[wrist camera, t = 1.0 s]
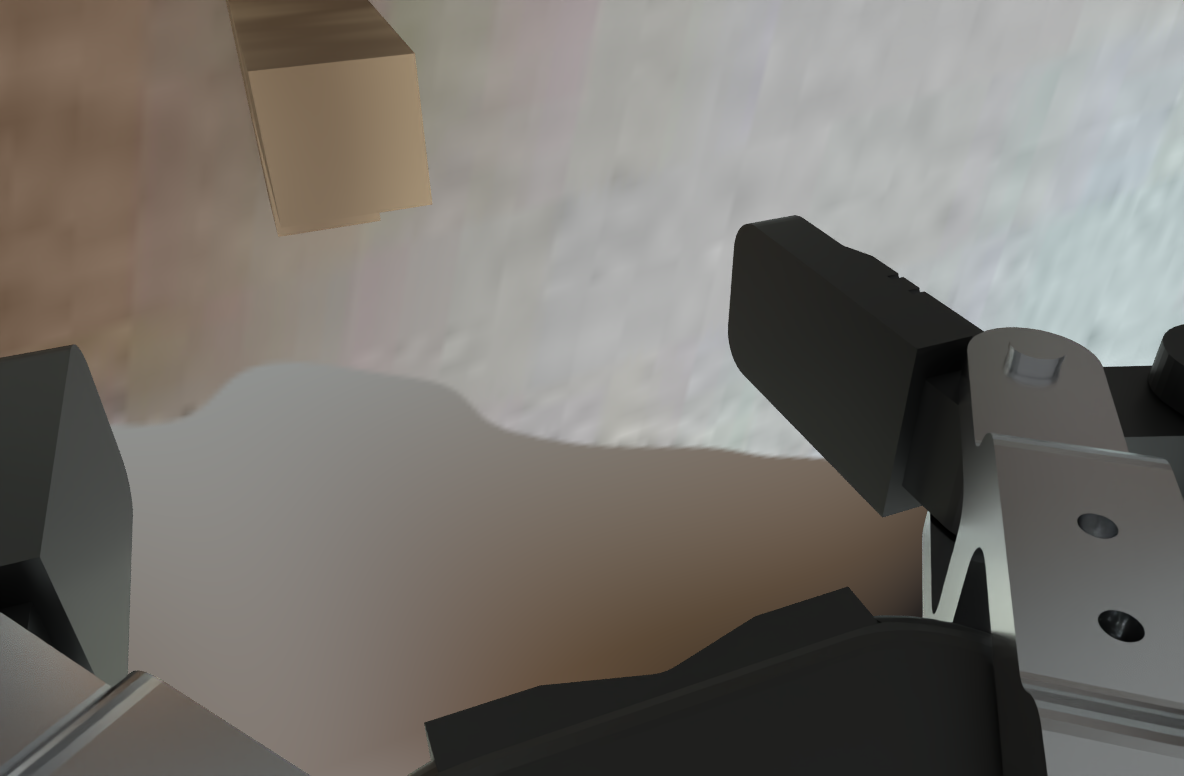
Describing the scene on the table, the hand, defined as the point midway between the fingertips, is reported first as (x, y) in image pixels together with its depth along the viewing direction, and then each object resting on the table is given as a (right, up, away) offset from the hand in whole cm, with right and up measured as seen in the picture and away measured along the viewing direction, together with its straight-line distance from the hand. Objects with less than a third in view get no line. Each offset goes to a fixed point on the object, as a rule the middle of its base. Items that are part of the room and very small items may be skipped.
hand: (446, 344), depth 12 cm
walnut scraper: (-7, +10, +16) cm, 20 cm away
